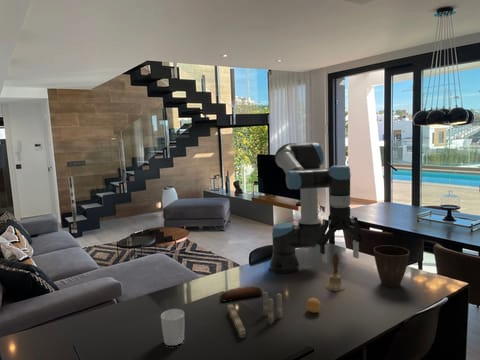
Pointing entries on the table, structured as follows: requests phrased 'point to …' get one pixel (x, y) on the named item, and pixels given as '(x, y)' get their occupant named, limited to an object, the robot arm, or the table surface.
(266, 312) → the pin
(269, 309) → the pin
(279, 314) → the front pin
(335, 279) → the hand bell
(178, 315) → the white cup
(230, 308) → the grey long bar
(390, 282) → the plant pot
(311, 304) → the ball
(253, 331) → the table surface
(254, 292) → the sunglasses case
